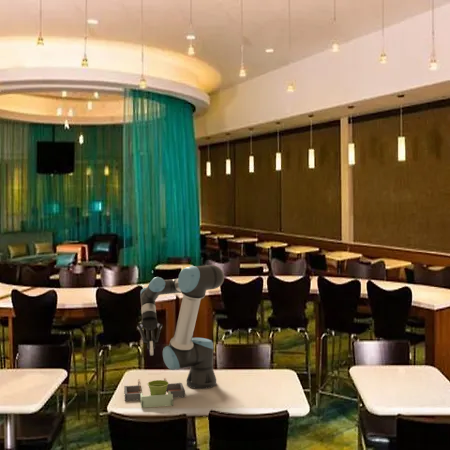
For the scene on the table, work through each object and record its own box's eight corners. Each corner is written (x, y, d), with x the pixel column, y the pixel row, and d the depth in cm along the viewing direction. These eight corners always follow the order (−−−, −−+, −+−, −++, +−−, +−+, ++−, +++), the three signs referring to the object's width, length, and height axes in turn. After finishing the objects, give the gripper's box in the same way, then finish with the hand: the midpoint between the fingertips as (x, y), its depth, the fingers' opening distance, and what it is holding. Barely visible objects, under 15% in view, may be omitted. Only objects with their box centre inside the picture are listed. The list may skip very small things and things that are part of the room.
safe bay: (140, 399, 262) (140, 388, 261) (170, 397, 264) (170, 386, 264) (141, 407, 251) (141, 396, 251) (172, 405, 254) (172, 394, 253)
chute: (137, 385, 281) (137, 379, 281) (165, 383, 284) (165, 378, 284) (138, 392, 271) (139, 385, 271) (167, 390, 274) (167, 384, 274)
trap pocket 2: (166, 389, 275) (166, 383, 275) (181, 388, 277) (181, 382, 276) (169, 398, 263) (169, 391, 263) (185, 397, 265) (185, 390, 265)
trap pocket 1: (124, 392, 271) (124, 386, 271) (139, 391, 272) (139, 385, 272) (124, 400, 259) (125, 394, 259) (141, 399, 261) (141, 393, 261)
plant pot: (166, 405, 253) (166, 387, 253) (145, 405, 254) (145, 386, 254) (170, 398, 263) (170, 380, 262) (150, 397, 264) (150, 379, 263)
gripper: (161, 317, 296) (164, 357, 280) (136, 318, 294) (138, 358, 278) (161, 309, 291) (165, 349, 275) (136, 310, 288) (138, 350, 272)
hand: (151, 353), depth 276 cm, fingers closed
